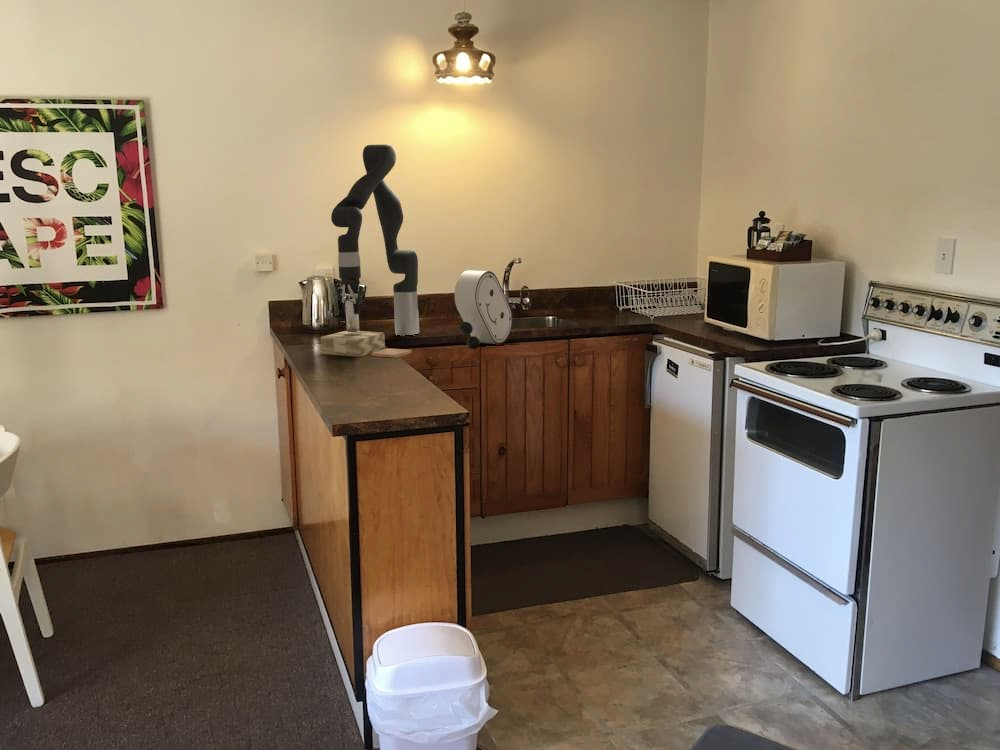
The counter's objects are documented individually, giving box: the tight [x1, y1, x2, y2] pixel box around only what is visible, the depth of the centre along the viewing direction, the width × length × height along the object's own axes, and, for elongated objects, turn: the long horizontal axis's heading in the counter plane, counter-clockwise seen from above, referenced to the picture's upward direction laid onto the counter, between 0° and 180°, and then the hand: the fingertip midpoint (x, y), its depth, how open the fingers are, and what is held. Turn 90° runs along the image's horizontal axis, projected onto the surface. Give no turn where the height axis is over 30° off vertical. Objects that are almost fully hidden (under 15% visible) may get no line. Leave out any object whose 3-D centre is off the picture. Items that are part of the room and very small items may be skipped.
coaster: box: [370, 347, 412, 359], centre depth 302 cm, size 10×10×1 cm
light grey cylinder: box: [345, 298, 361, 332], centre depth 306 cm, size 4×4×11 cm
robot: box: [454, 269, 513, 350], centre depth 312 cm, size 30×9×24 cm
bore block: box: [320, 330, 386, 358], centre depth 308 cm, size 16×16×6 cm
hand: (352, 313), depth 306 cm, fingers closed on light grey cylinder, 4 cm apart
